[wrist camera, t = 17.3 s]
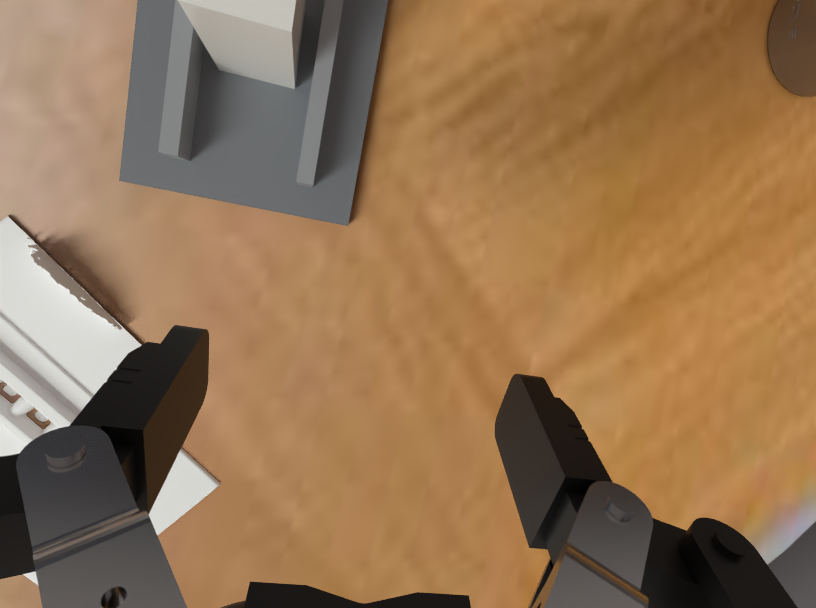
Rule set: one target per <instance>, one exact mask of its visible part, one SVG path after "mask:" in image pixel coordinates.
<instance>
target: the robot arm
mask: <svg viewBox="0 0 816 608" xmlns="http://www.w3.org/2000/svg"><path fill="white" fill-rule="evenodd" d="M768 51H769V59H770V62H771V66H772V69H773V71H774V73H775V75H776V77H777V79H778V80H779V81H780V83H781V84H782V85H783V86H784V87H785V88H786V89H788V90H789V91H790V92H792V93H794V94H797V95H800V96H807V97H812V96H816V0H779V1H778V3H777V5H776V7H775V10H774V12H773V15H772V18H771V22H770V27H769V31H768ZM208 363H209V333H208V330H206V329H199V328H192V327H185V326H178V325H175V326H173V328H172V329H171V330H170V332H169V333H168V334H167V336H166V337H165V338H164V340H163V341H162V342H161V344H159V343H151V342H147V343H145V344H143V345H142V346H140V347H138V348H136V349H135V350H133V351H131V352H129V353H128V354H127V355H126V357H125V358H124V359H123V360H122V362H121V363H120V364H119V365H118V367H117V370H114V371H113V373H112V374H111V375H110V376H109V378H108V379H107V382H105V383H104V384H103V385H102V386H101V387H100V389H99V390H98V391H97V392H96V394H95V395H94V396H93V397H92V398H91V400H90V401H89V402H88V403H87V405H86V406H85V407H84V408H83V410H82V411H81V412H80V413H79V414H78V416H77V417H76V418H75V419H74V421H73V422H72V423H71V424H70V426H67V427H62V428H58V429H55V430H52V431H49V432H47V433H45V434H42V435H41V436H39V437H37V438H35V439H34V440H33V441H31V442H30V443H29V444H28V445H26V446H25V447H24V448H23V450H22V451H21V452H20V453H19V454H14V455H8V456H1V457H0V579H3V578H8V577H12V576H17V575H22V574H26V573H31V572H35V571H36V576H37V581H38V586H39V591H40V596H41V601H42V606H43V608H187V606H186V604H185V601H184V599H183V597H182V594H181V592H180V589H179V587H178V585H177V582H176V580H175V577H174V575H173V572H172V570H171V568H170V565H169V563H168V560H167V558H166V555H165V553H164V551H163V548H162V546H161V543H160V541H159V539H158V536H157V534H156V531H155V529H154V526H153V524H152V522H151V519H150V517H149V513H150V511H151V509H152V507H153V505H154V503H155V501H156V499H157V496H158V494H159V492H160V490H161V488H162V486H163V484H164V482H165V480H166V478H167V476H168V474H169V472H170V470H171V468H172V466H173V464H174V462H175V460H176V457H177V455H178V453H179V451H180V449H181V447H182V445H183V443H184V441H185V439H186V437H187V435H188V433H189V431H190V429H191V427H192V425H193V423H194V421H195V419H196V416H197V414H198V412H199V410H200V408H201V406H202V404H203V401H204V399H205V395H206V391H207V385H208ZM495 438H496V442H497V445H498V448H499V452H500V455H501V458H502V461H503V465H504V468H505V471H506V474H507V477H508V481H509V484H510V487H511V490H512V494H513V497H514V500H515V503H516V506H517V510H518V513H519V516H520V519H521V523H522V526H523V529H524V532H525V535H526V539H527V542H528V545H529V548H539V549H548V552H549V555H550V559H549V561H548V563H547V565H546V567H545V569H544V571H543V574H542V576H541V578H540V581H539V583H538V585H537V588H536V590H535V592H534V595H533V597H532V599H531V601H530V604H529V606H528V608H797V607H796V605H795V604H794V602H793V601H792V599H791V598H790V596H789V595H788V594H787V592H786V591H785V589H784V588H783V587H782V585H781V584H780V582H779V581H778V580H777V578H776V577H775V575H774V574H773V572H772V571H771V570H770V569H769V567H768V565H767V564H766V563H765V561H764V560H763V558H762V557H761V556H760V554H759V553H758V551H757V550H756V549H755V548H754V546H753V545H752V544H751V543H750V542H749V541H748V540H747V539H746V538H745V537H744V536H743V535H741V534H740V533H739V532H737V531H736V530H734V529H733V528H731V527H730V526H728V525H726V524H724V523H722V522H720V521H717V520H714V519H710V518H699V519H696V520H695V521H694V522H693V523H692V524H691V526H690V527H689V529H688V530H687V531H686V530H683V529H680V528H678V527H675V526H672V525H670V524H667V523H664V522H661V521H659V520H656V519H654V518H652V516H651V513H650V511H649V510H648V508H647V507H646V505H645V504H644V503H643V502H642V501H641V499H639V498H638V497H637V496H636V495H635V494H634V493H632V492H631V491H629V490H628V489H626V488H624V487H622V486H621V485H618V484H616V483H613V482H612V480H611V479H610V477H609V475H608V473H607V471H606V469H605V468H604V466H603V464H602V462H601V460H600V459H599V457H598V455H597V453H596V451H595V449H594V448H593V446H592V444H591V442H589V441H588V437H587V435H586V433H585V431H584V429H582V426H581V424H580V422H579V420H578V419H577V417H576V415H575V413H574V412H573V411H572V410H571V409H570V408H569V407H568V406H567V405H566V404H565V403H564V402H563V401H562V400H561V399H560V398H555V397H554V396H553V394H552V392H551V390H550V388H549V386H548V384H547V382H546V381H545V379H544V378H542V377H536V376H529V375H522V374H515V375H514V376H513V377H512V379H511V381H510V383H509V386H508V388H507V391H506V394H505V396H504V399H503V402H502V404H501V407H500V409H499V412H498V415H497V417H496V422H495ZM221 608H471V606H470V600H469V596H466V595H450V594H434V593H419V592H418V593H413V594H408V595H404V596H399V597H395V598H390V599H386V600H381V601H377V602H372V603H366V604H363V603H357V602H354V601H351V600H348V599H345V598H342V597H340V596H337V595H334V594H331V593H328V592H325V591H322V590H319V589H316V588H313V587H310V586H307V585H293V584H277V583H261V582H250V585H249V589H248V593H247V597H246V601H242V602H237V603H233V604H230V605H227V606H224V607H221Z"/></svg>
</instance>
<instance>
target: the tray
mask: <svg viewBox="0 0 816 608" xmlns="http://www.w3.org/2000/svg"><path fill="white" fill-rule="evenodd" d="M140 346H142V345H141V344H140V343H139V342H138V341H137V340H136V339H135V338H134V337H132V336H131V335H130V334H129V333H128V332H127V331H126V330H125V329H124V328H123V327H122V326H121V325H120V324H119V323H118V322H117V321H116V320H115V319H114V318H113V317H112V316H111V315H110V314H109V313H108V312H107V311H106V310H104V309H103V308H102V306H100V305H99V303H97V302H96V301H95V300H94V299H93V298H92V297H91V296H90V295H89V294H88V293H87V292H86V291H85V290H84V289H83V288H82V287H81V286H80V285H79V284H78V283H77V282H76V281H74V279H73V278H71V276H69V275H68V274H67V273H66V272H65V271H64V270H63V269H62V268H61V267H60V266H59V265H58V264H57V263H56V262H55V261H54V260H53V259H52V258H51V257H50V256H49V255H48V254H47V253H46V252H45V251H44V250H42V249H41V248H40V247H39V246H38V245H37V244H36V243H35V242H34V241H33V240H32V239H31V238H30V237H29V236H28V235H27V234H26V233H25V232H24V231H23V230H22V229H20V228H19V226H17V225H16V224H15V223H14V222H13V221H12V220H11V219H10V218H9V217H8V216H7V217H5V218H4V219H3V220H2V221H0V383H1V382H3V381H4V382H5V383H6V384H7V385H6V386H5V387H4V388H3V390H4V391H5V392H6V393H7V394H8V395H10V396H14V395H16V394H17V393H18V394H19V395H20V396H21V397H20V398H19V399H18V400H17V401H16V402H15V403H10V402H9V401H8V400H7V399H5V398H4V397H3V396H2V395H1V394H0V457H1V456H8V455H14V454H19V453H20V452H21V451H22V450H23V448H24V447H25V446H26V445H28V444H29V443H30V442H31V441H33V440H34V439H35V438H37V437H39V436H41V435H42V434H45V433H47V432H49V431H52V430H55V429H58V428H62V427H67V426H70V424H71V423H72V422H73V421H74V419H75V418H76V417H77V416H78V414H79V413H80V412H81V411H82V410H83V408H84V407H85V406H86V405H87V403H88V402H89V401H90V400H91V398H92V397H93V396H94V395H95V394H96V392H97V391H98V390H99V389H100V387H101V386H102V385H103V384H104V383H105V382H107V379H108V378H109V376H110V375H111V374H112V373H113V371H114V370H117V367H118V365H119V364H120V363H121V362H122V360H123V359H124V358H125V357H126V355H127V354H128V353H129V352H131V351H133V350H135V349H136V348H138V347H140ZM33 408H36V409H37V410H38V411H37V412H36V413H35V415H34V416H35V417H36V418H37V419H38V420H39V421H41V422H45V421H46V420H48V419H49V420H50V421H51V422H52V423H50V424H49V425H48V426H47V427H46V428H45V429H42V428H40V427H39V426H38V425H37V424H35V423H34V422H33V421H32V420H31V419H29V418H28V417H27V416H26V413H27V412H29V411H31V410H32V409H33ZM219 484H220V483H219V482H218V481H217V480H216V479H215V478H214V477H213V476H212V475H211V474H210V473H209V472H207V471H206V470H205V469H204V468H203V467H202V466H201V465H200V464H199V463H198V462H197V461H195V460H194V459H193V458H192V457H191V456H190V455H189V454H188V453H187V452H186V451H184V450H183V449H182V448H181V449H180V451H179V453H178V455H177V457H176V460H175V462H174V464H173V466H172V468H171V470H170V472H169V474H168V476H167V478H166V480H165V482H164V484H163V486H162V488H161V490H160V492H159V494H158V496H157V499H156V501H155V503H154V505H153V507H152V509H151V511H150V513H149V517H150V519H151V522H152V524H153V526H154V529H155V531H156V534H157V536H158V535H159V534H160V533H161V532H162V531H164V530H165V529H166V528H167V527H169V526H170V525H171V524H172V523H174V522H175V521H176V520H177V519H178V518H180V517H181V516H182V515H184V514H185V513H186V512H187V511H188V510H190V509H191V508H192V507H193V506H194V505H196V504H197V503H198V502H200V501H201V500H202V499H203V498H204V497H206V496H207V495H208V494H209V493H211V492H212V491H213V490H214V489H215V488H216V487H218V486H219ZM23 575H25V576H26V577H27V578H29V579H30V580H31V581H33V582H34V583H36V584H37V585H38V581H37V576H36V571H35V572H31V573H26V574H23Z"/></svg>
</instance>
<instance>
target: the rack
mask: <svg viewBox="0 0 816 608" xmlns="http://www.w3.org/2000/svg"><path fill="white" fill-rule="evenodd" d="M387 5H388V0H306V15H305V22H304V29H303V36H302V43H301V50H300V57H299V64H298V71H297V78H296V85H295V89H293V88H289V87H285V86H281V85H277V84H273V83H269V82H265V81H261V80H257V79H253V78H249V77H245V76H241V75H237V74H233V73H229V72H225V71H221V70H219V69H218V67H217V66H216V64H215V62H214V60H213V59H212V57H211V55H210V54H209V52H208V50H207V49H206V47H205V45H204V44H203V42H202V40H201V39H200V37H199V35H198V34H197V32H196V30H195V29H194V27H193V25H192V24H191V22H190V20H189V19H188V17H187V15H186V14H185V12H184V10H183V8H182V7H181V5H180V3H179V2H178V0H138V3H137V13H136V23H135V33H134V42H133V52H132V62H131V72H130V82H129V91H128V101H127V111H126V121H125V130H124V140H123V150H122V160H121V169H120V179H119V181H123V182H129V183H134V184H139V185H144V186H149V187H154V188H159V189H164V190H169V191H174V192H179V193H184V194H189V195H194V196H199V197H204V198H209V199H214V200H219V201H225V202H230V203H235V204H240V205H245V206H250V207H255V208H260V209H265V210H270V211H275V212H280V213H285V214H290V215H295V216H300V217H305V218H310V219H316V220H321V221H326V222H331V223H336V224H341V225H346V226H348V224H349V218H350V213H351V207H352V202H353V196H354V190H355V185H356V179H357V173H358V168H359V162H360V157H361V151H362V145H363V140H364V134H365V128H366V123H367V117H368V112H369V106H370V100H371V95H372V89H373V83H374V78H375V72H376V66H377V61H378V55H379V50H380V44H381V38H382V33H383V27H384V21H385V16H386V10H387Z"/></svg>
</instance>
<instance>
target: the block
mask: <svg viewBox="0 0 816 608" xmlns="http://www.w3.org/2000/svg"><path fill="white" fill-rule="evenodd" d="M178 2H179V3H180V5H181V7H182V8H183V10H184V12H185V14H186V15H187V17H188V19H189V20H190V22H191V24H192V25H193V27H194V29H195V30H196V32H197V34H198V35H199V37H200V39H201V40H202V42H203V44H204V45H205V47H206V49H207V50H208V52H209V54H210V55H211V57H212V59H213V60H214V62H215V64H216V66H217V67H218V69H219V70H221V71H225V72H229V73H233V74H237V75H241V76H245V77H249V78H253V79H257V80H261V81H265V82H269V83H273V84H277V85H281V86H285V87H289V88H293V89H295V85H296V78H297V71H298V64H299V57H300V50H301V43H302V36H303V29H304V22H305V15H306V0H178Z"/></svg>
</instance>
